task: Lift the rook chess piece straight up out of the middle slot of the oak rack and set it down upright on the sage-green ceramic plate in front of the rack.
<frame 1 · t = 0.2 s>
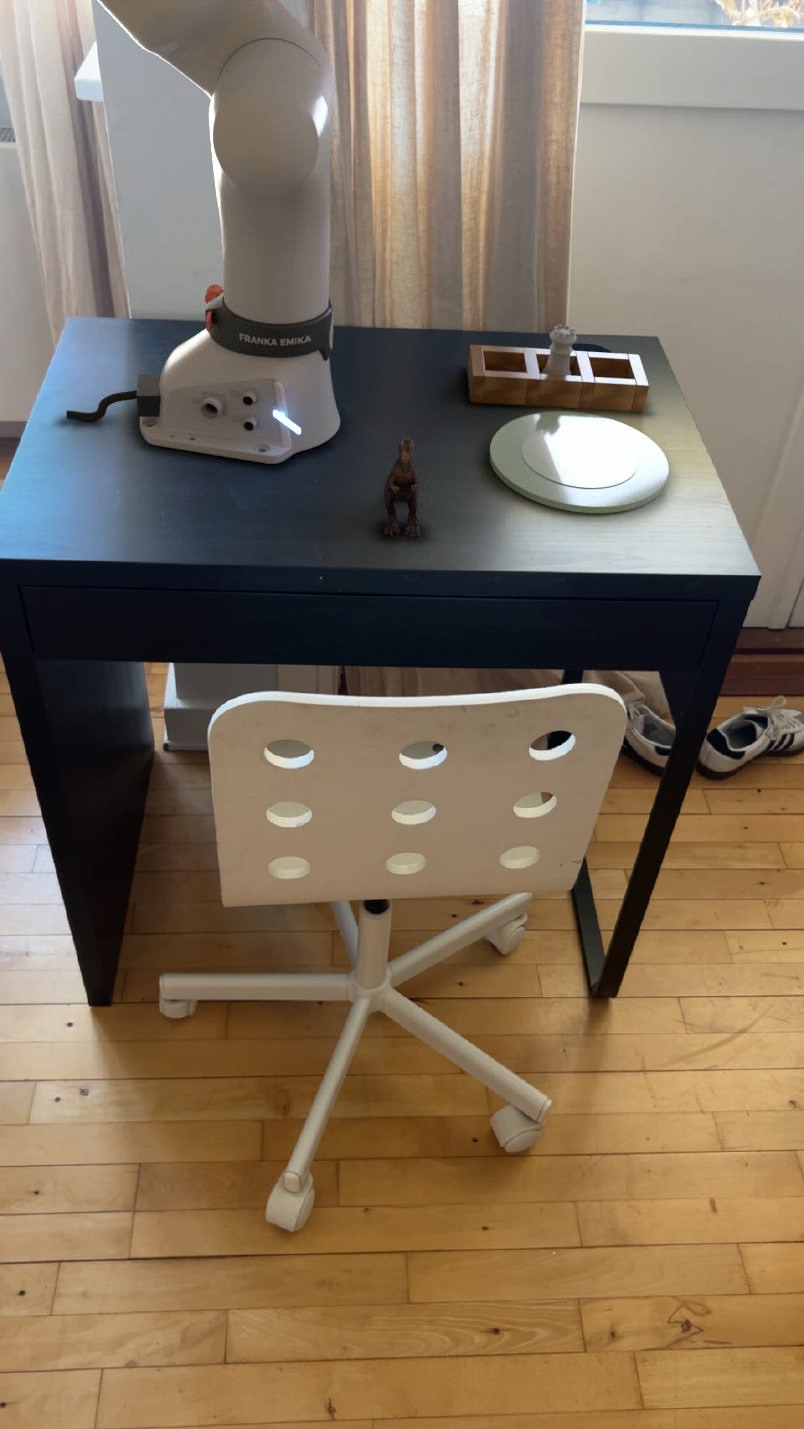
dinosaur model: (399, 513, 121), on the table
rack: (553, 391, 142), on the table
rook chess piece: (553, 392, 142), resting in rack
plate: (577, 465, 130), on the table
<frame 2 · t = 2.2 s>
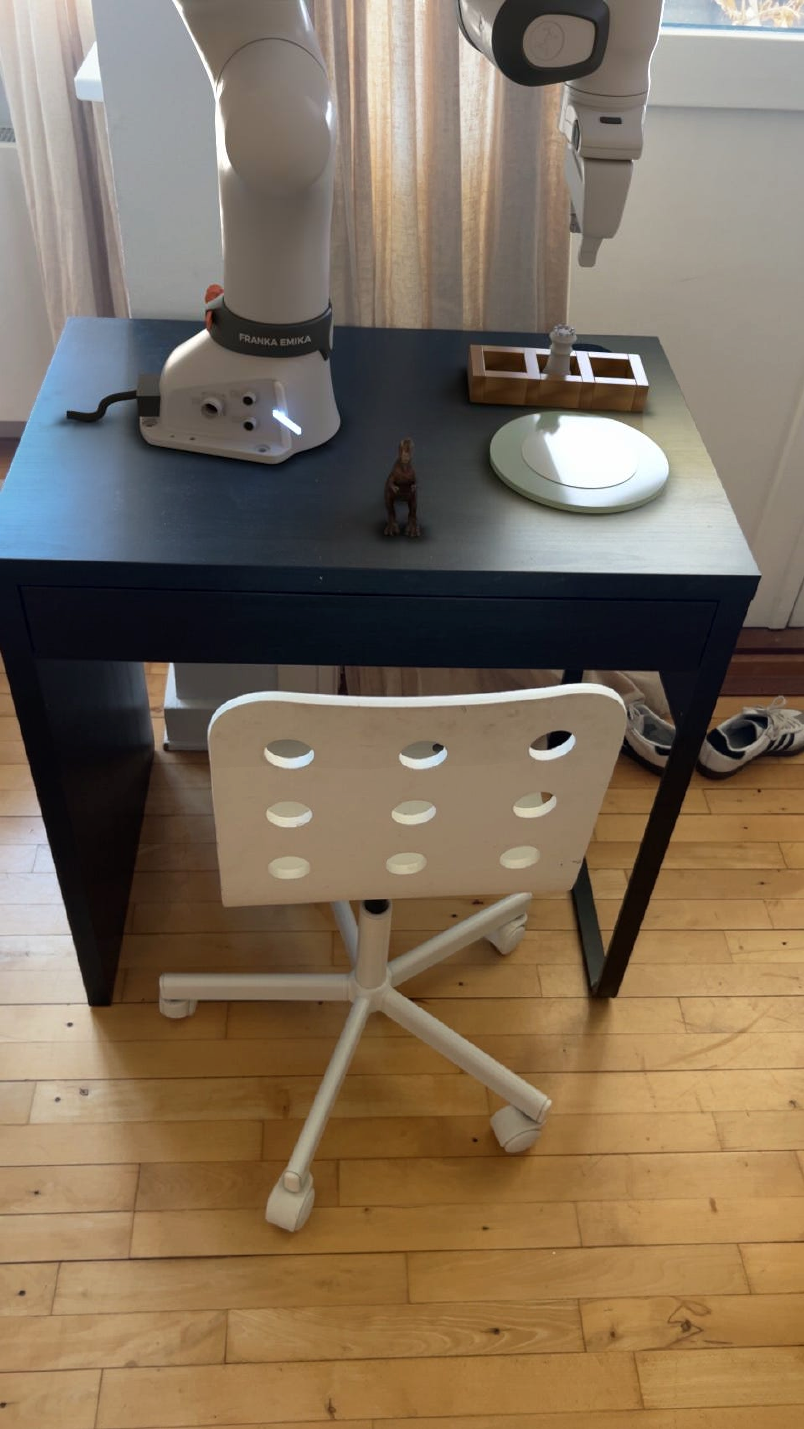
hand: (580, 247, 130), 18 cm above the table, tool pointing down, fingers open, 8 cm apart
nothing on the table moved.
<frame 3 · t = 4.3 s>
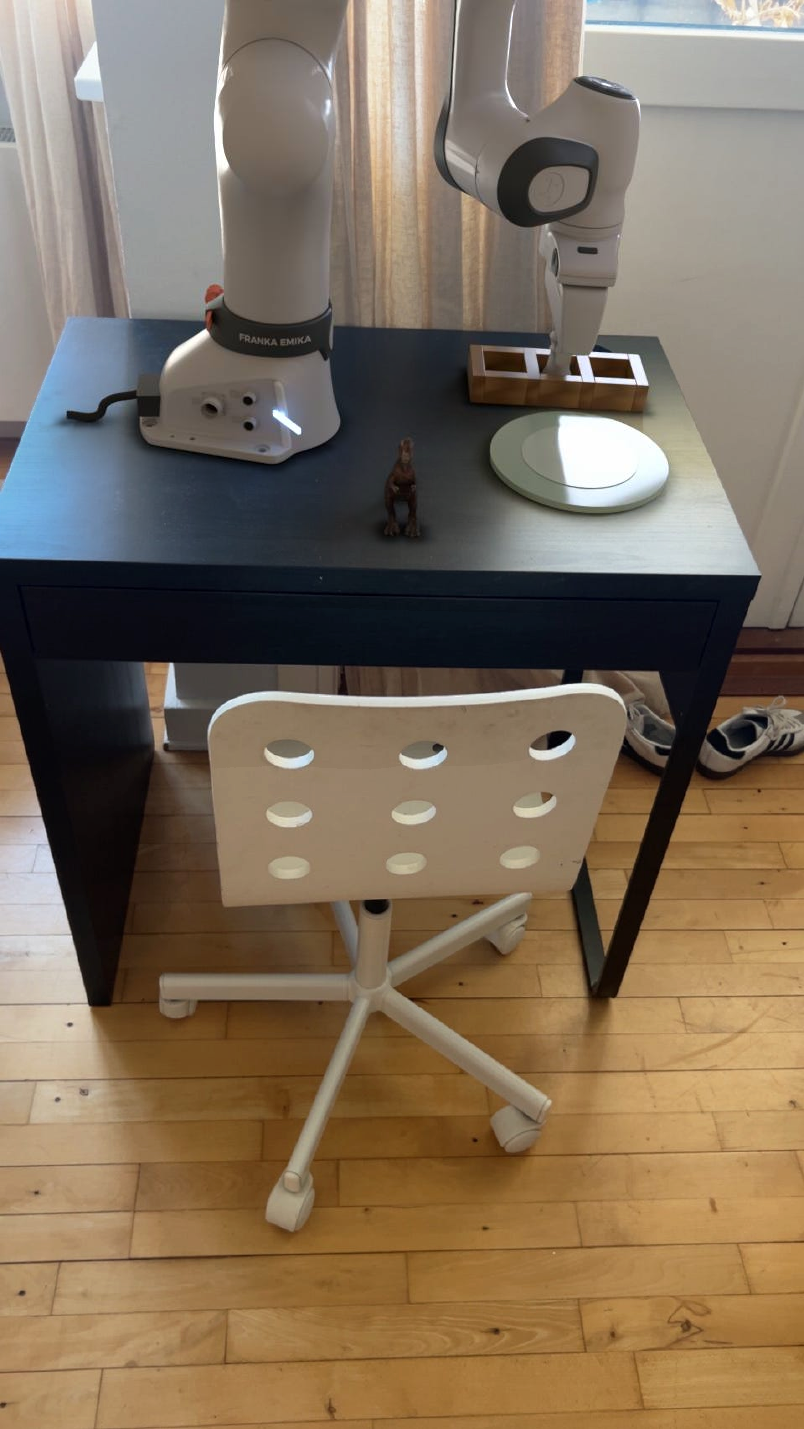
hand: (559, 355, 139), 5 cm above the table, tool pointing down, fingers closed on rook chess piece, 3 cm apart
rook chess piece: (553, 392, 142), resting in rack, touching gripper
everything else where it was.
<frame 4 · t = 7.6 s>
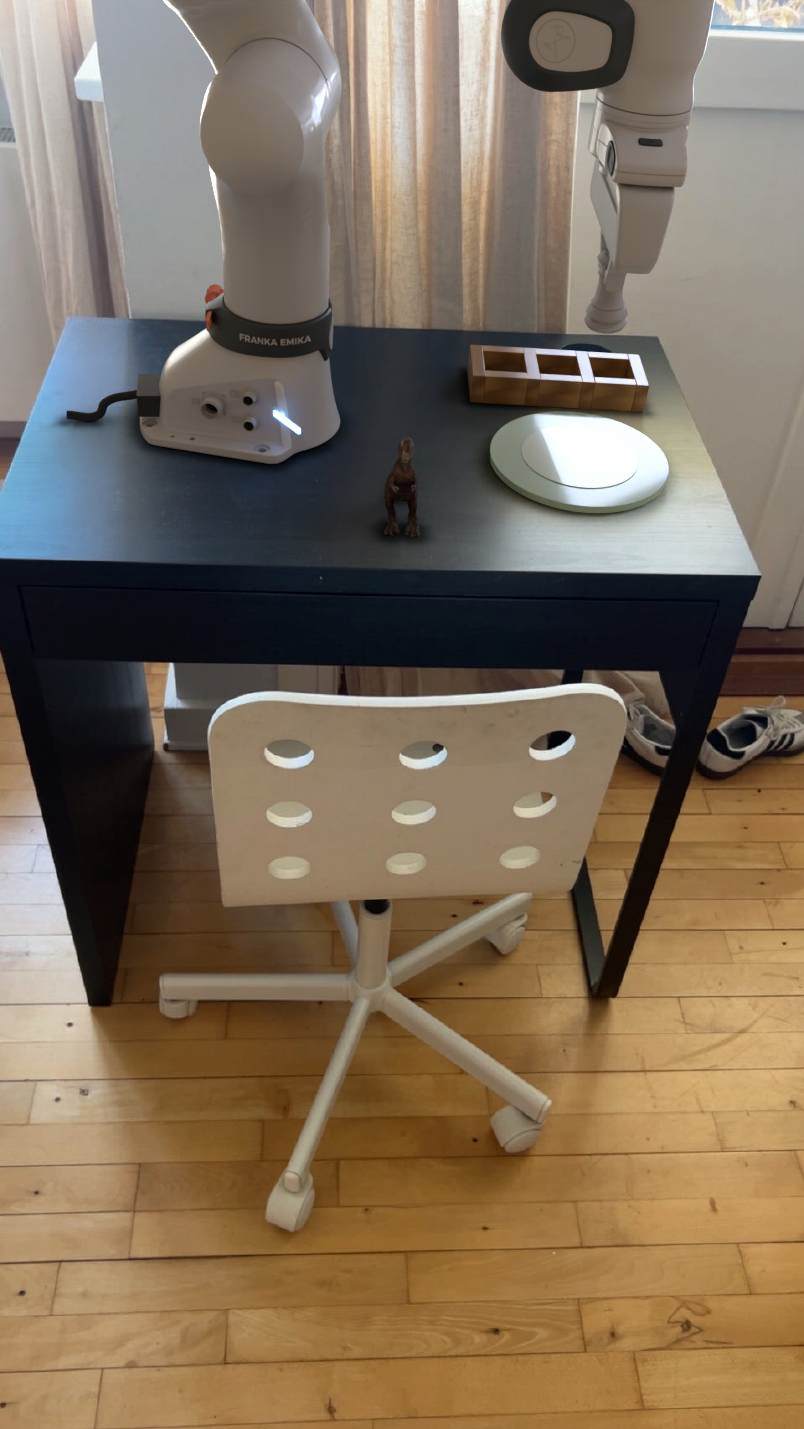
hand: (609, 280, 117), 21 cm above the table, tool pointing down, fingers closed on rook chess piece, 3 cm apart
rook chess piece: (604, 327, 120), point 16 cm above the table, touching gripper
everything else where it was.
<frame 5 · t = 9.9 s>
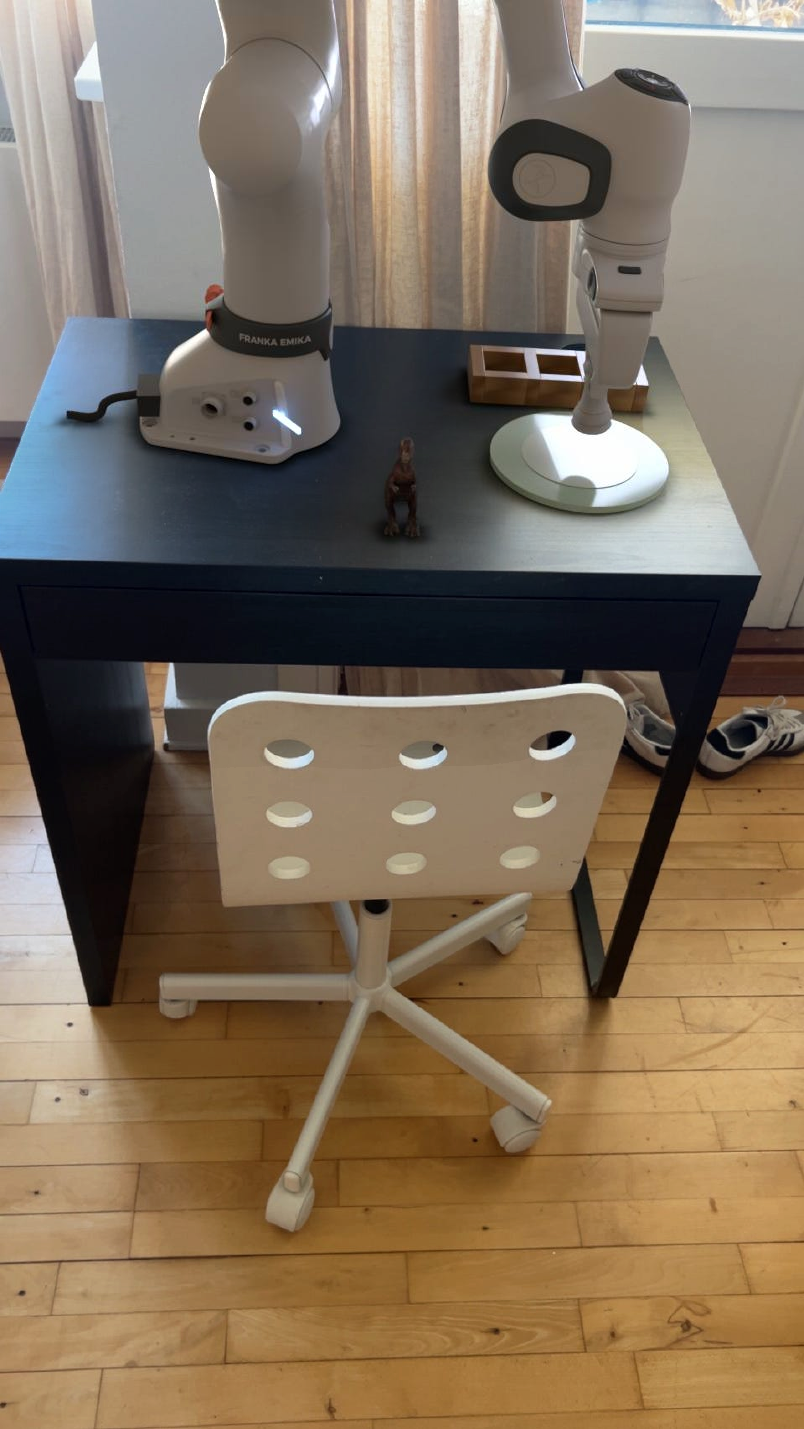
hand: (594, 386, 123), 10 cm above the table, tool pointing down, fingers closed on rook chess piece, 3 cm apart
rook chess piece: (590, 427, 127), point 5 cm above the table, touching gripper
everything else where it was.
when the fingers open (6 cm above the table, at t = 11.1 s): rook chess piece stays where it is, resting on plate.
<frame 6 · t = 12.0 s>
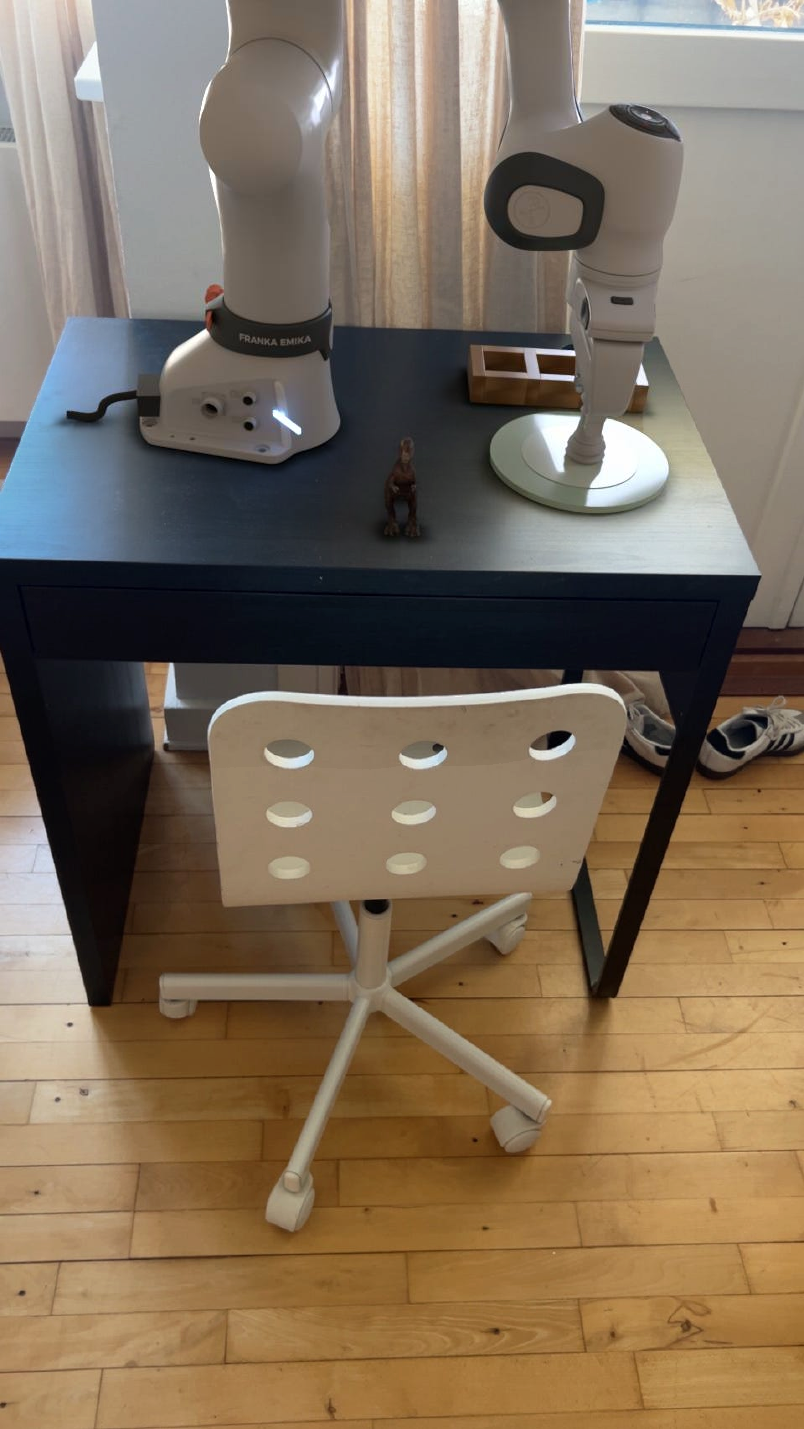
hand: (586, 411, 125), 7 cm above the table, tool pointing down, fingers open, 8 cm apart
rook chess piece: (584, 457, 129), point 1 cm above the table, touching plate
everything else where it was.
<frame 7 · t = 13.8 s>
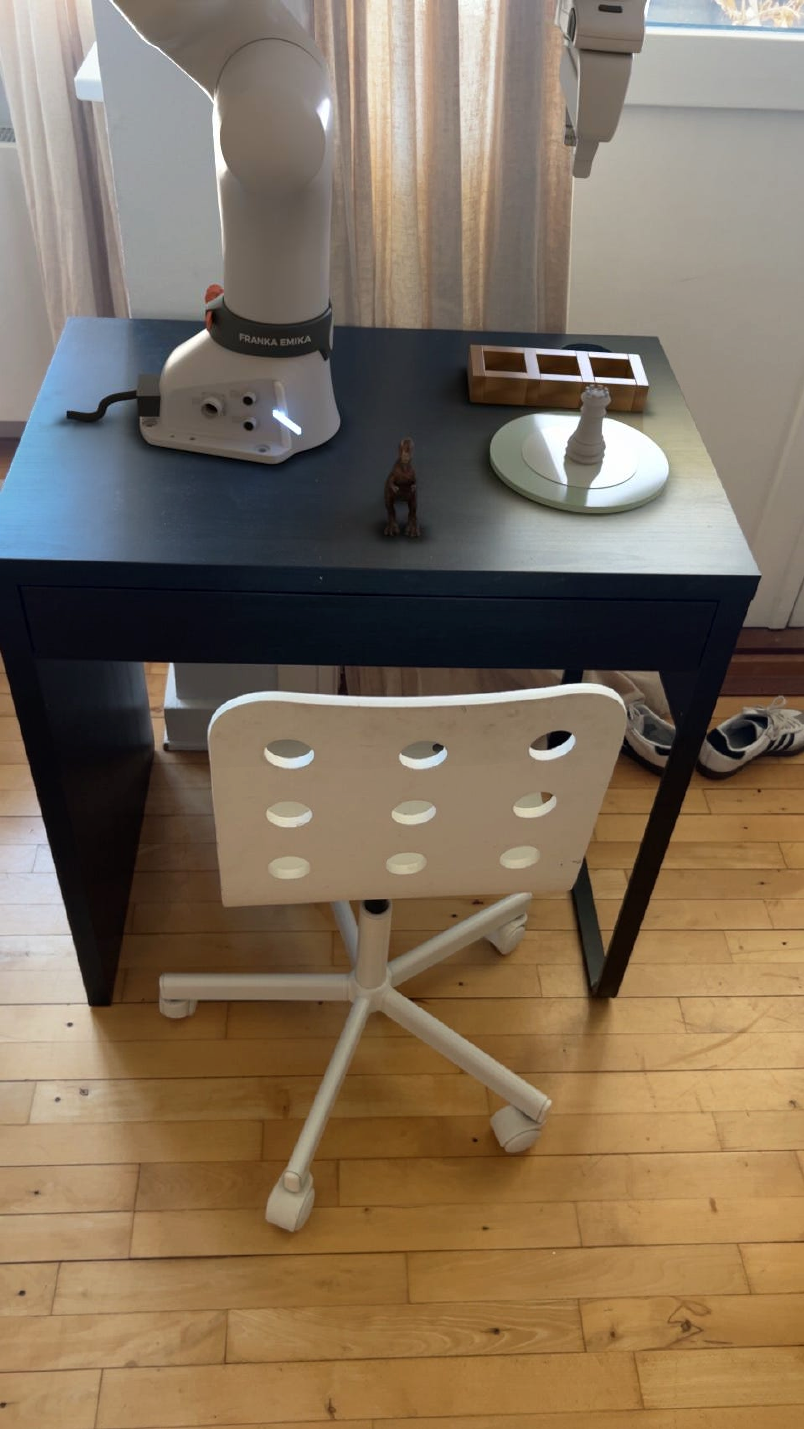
hand: (575, 159, 120), 28 cm above the table, tool pointing down, fingers open, 8 cm apart
nothing on the table moved.
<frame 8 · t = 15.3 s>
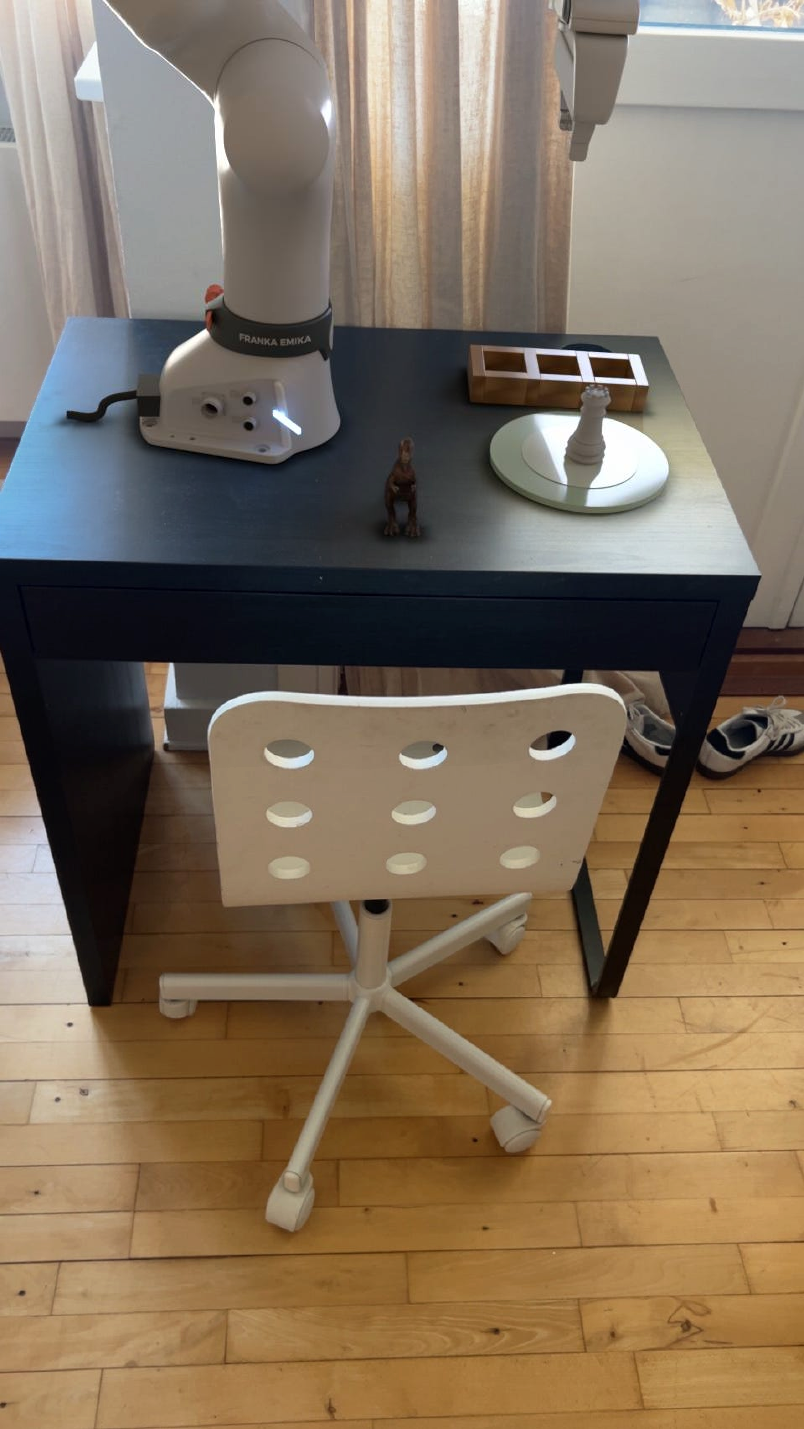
hand: (571, 143, 121), 29 cm above the table, tool pointing down, fingers open, 8 cm apart
nothing on the table moved.
at the end: rook chess piece inside the target area on the plate (0.5 cm from its centre), point 1.1 cm above the plate's base; rook chess piece tilted 0°; the gripper is holding nothing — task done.
